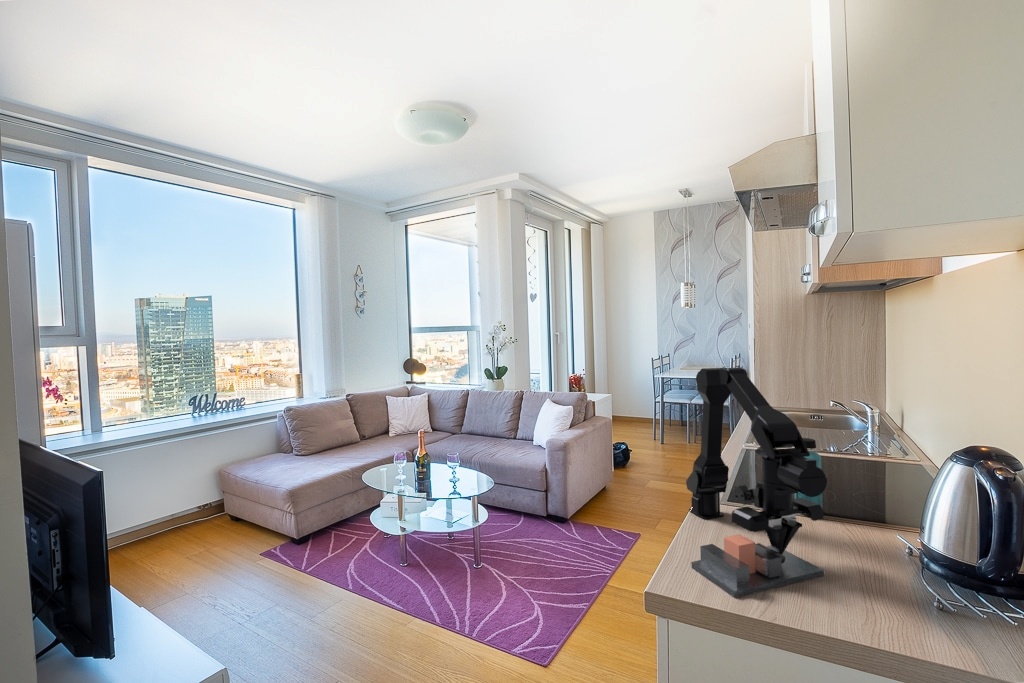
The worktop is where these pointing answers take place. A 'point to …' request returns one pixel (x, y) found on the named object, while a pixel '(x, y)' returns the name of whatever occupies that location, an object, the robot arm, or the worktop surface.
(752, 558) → the brick-red block
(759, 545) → the sliding jaw
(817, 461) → the beverage bottle
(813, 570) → the vise base
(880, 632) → the worktop surface
